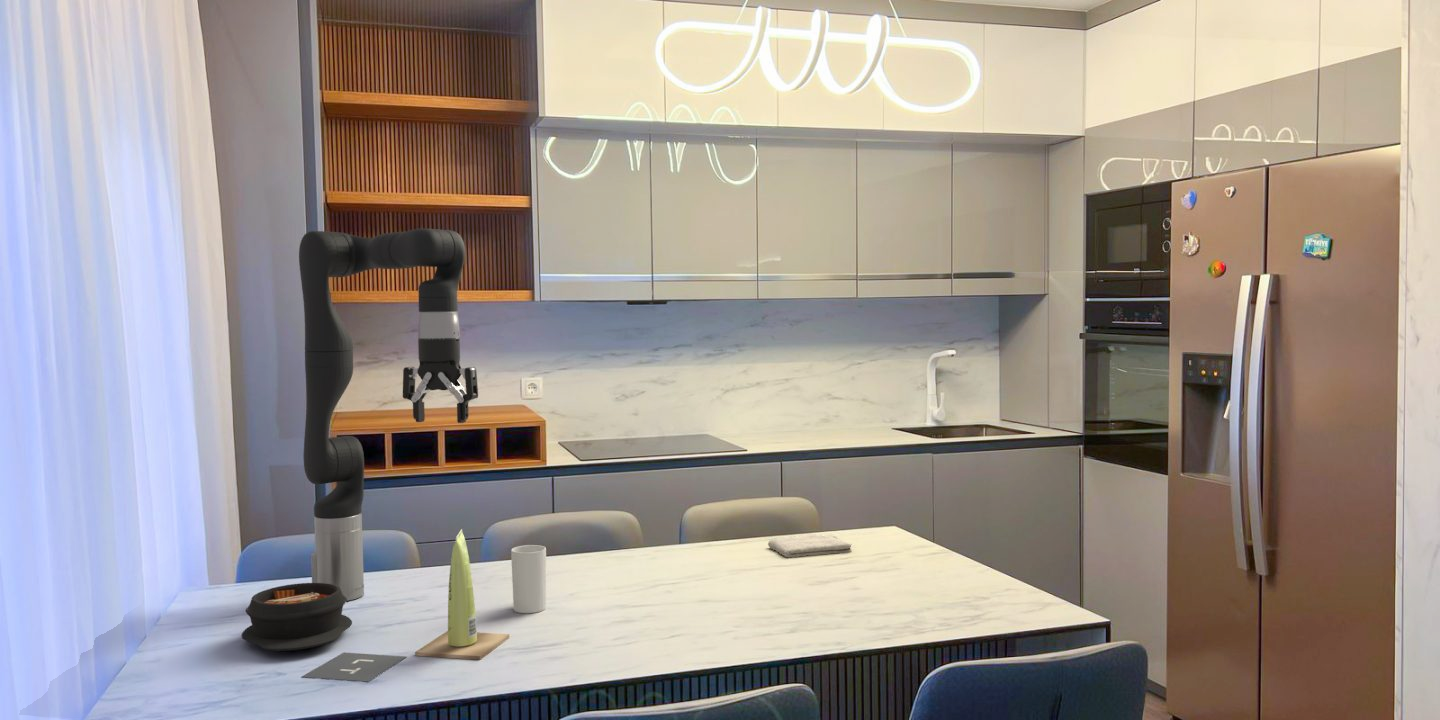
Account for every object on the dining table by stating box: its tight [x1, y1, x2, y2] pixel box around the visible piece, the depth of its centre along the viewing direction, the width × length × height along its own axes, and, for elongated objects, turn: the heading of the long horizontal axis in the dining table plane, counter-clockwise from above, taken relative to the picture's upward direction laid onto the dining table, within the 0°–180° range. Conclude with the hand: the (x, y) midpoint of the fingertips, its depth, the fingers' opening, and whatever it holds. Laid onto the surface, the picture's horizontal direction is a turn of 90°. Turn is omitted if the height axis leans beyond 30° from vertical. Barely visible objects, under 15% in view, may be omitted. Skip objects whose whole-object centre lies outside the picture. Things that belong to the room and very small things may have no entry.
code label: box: [300, 652, 408, 683], centre depth 171 cm, size 12×12×1 cm
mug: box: [510, 544, 547, 614], centre depth 205 cm, size 10×7×12 cm, turn 9°
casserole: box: [240, 582, 353, 652], centre depth 187 cm, size 25×19×8 cm
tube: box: [447, 528, 477, 647], centre depth 181 cm, size 6×5×20 cm
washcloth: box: [767, 533, 852, 558], centre depth 251 cm, size 12×18×3 cm, turn 109°
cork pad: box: [414, 630, 511, 661], centre depth 181 cm, size 12×12×1 cm
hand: (441, 422), depth 194 cm, fingers open, 8 cm apart
